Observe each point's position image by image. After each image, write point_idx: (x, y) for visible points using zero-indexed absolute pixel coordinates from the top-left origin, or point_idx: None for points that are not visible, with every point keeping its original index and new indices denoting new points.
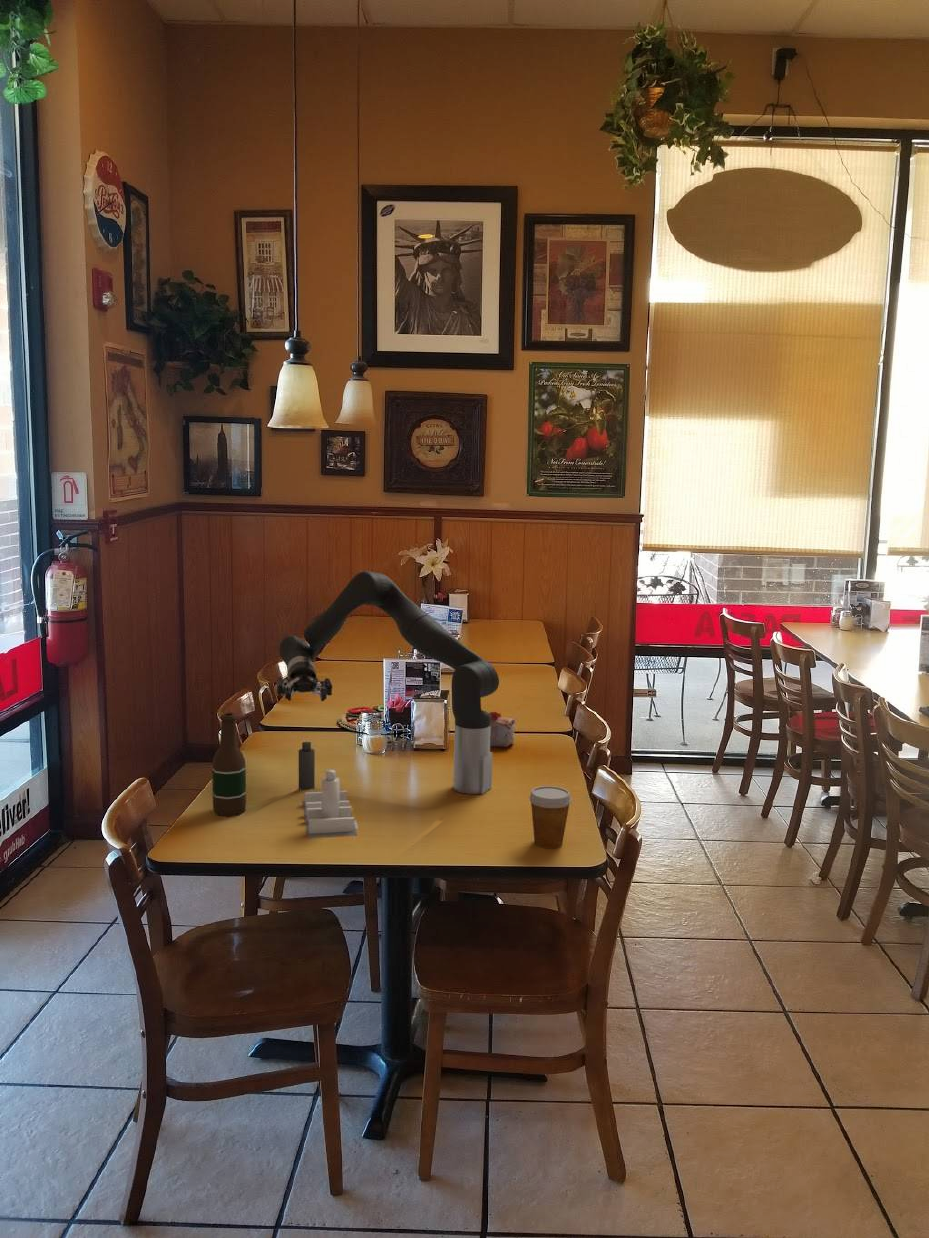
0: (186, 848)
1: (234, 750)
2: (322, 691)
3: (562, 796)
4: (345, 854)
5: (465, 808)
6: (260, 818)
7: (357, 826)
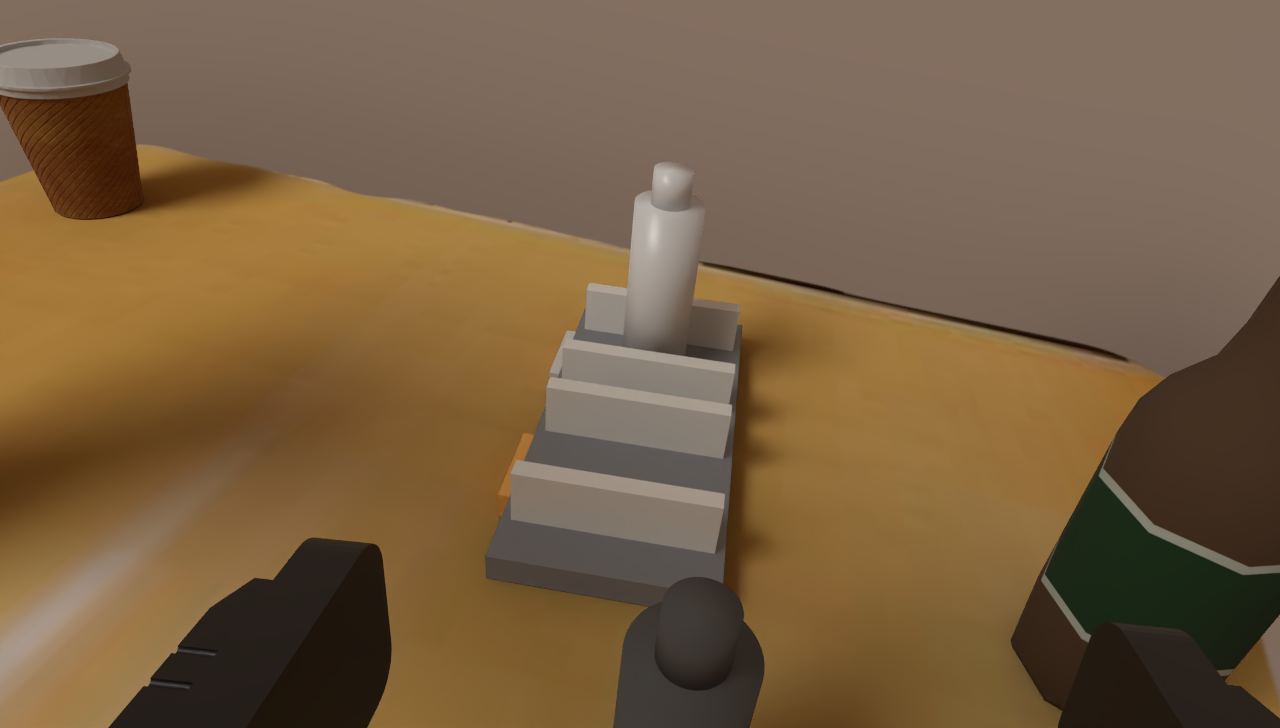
0: (1122, 412)
1: (1211, 358)
2: (280, 625)
3: (48, 47)
4: None
5: (33, 404)
6: (916, 549)
7: (563, 341)
